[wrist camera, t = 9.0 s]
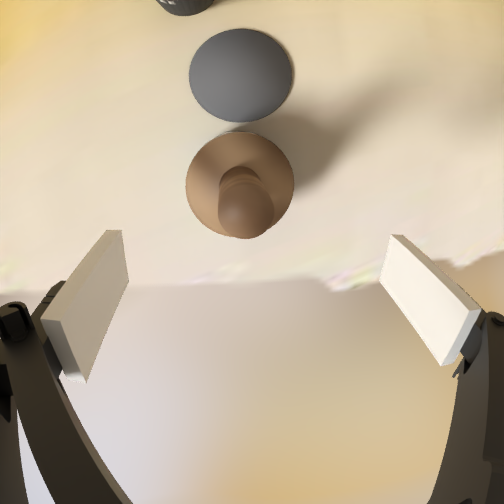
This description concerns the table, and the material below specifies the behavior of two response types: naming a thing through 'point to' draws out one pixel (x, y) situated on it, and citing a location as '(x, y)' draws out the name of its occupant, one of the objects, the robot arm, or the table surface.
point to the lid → (239, 185)
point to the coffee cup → (185, 6)
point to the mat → (240, 75)
